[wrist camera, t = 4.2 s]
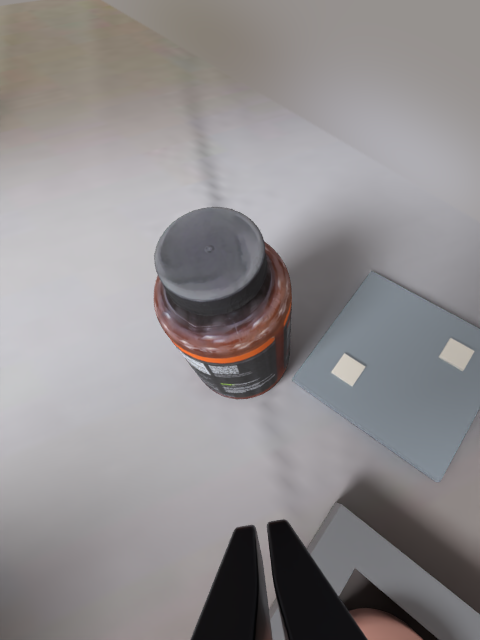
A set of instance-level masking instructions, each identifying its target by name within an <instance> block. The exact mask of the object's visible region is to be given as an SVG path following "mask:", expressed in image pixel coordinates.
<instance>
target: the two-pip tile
mask: <svg viewBox="0 0 480 640" xmlns="http://www.w3.org/2000/svg"><path fill="white" fill-rule="evenodd" d="M292 381H293V382H295V383H296V384H297V385H299V386H300V387H302V388H303V389H304V390H306V391H307V392H309V393H310V394H312V395H313V396H314V397H316V398H317V399H319V400H320V401H322V402H323V403H324V404H326V405H327V406H329V407H330V408H331V409H333V410H334V411H336V412H337V413H339V414H340V415H341V416H343V417H344V418H346V419H347V420H348V421H350V422H351V423H353V424H354V425H356V426H357V427H358V428H360V429H361V430H363V431H364V432H366V433H367V434H368V435H370V436H371V437H373V438H374V439H375V440H377V441H378V442H380V443H381V444H383V445H384V446H385V447H387V448H388V449H390V450H391V451H392V452H394V453H395V454H397V455H398V456H400V457H401V458H402V459H404V460H405V461H407V462H408V463H410V464H411V465H412V466H414V467H415V468H417V469H418V470H419V471H421V472H422V473H424V474H425V475H427V476H428V477H429V478H431V479H432V480H434V481H435V482H440V481H441V479H442V477H443V475H444V474H445V472H446V470H447V468H448V466H449V464H450V462H451V461H452V459H453V457H454V455H455V453H456V451H457V449H458V448H459V446H460V444H461V442H462V440H463V438H464V437H465V435H466V433H467V431H468V429H469V427H470V425H471V424H472V422H473V420H474V418H475V416H476V414H477V412H478V411H479V409H480V329H479V328H477V327H476V326H474V325H472V324H470V323H468V322H466V321H464V320H463V319H461V318H459V317H457V316H455V315H453V314H451V313H449V312H448V311H446V310H444V309H442V308H440V307H438V306H436V305H435V304H433V303H431V302H429V301H427V300H425V299H423V298H422V297H420V296H418V295H416V294H414V293H412V292H410V291H409V290H407V289H405V288H403V287H401V286H399V285H397V284H396V283H394V282H392V281H390V280H388V279H386V278H384V277H383V276H381V275H379V274H377V273H375V272H373V271H371V272H370V273H369V275H368V276H367V278H366V279H365V280H364V282H363V283H362V284H361V286H360V287H359V288H358V290H357V291H356V292H355V294H354V295H353V297H352V298H351V299H350V301H349V302H348V303H347V305H346V306H345V307H344V309H343V310H342V312H341V313H340V314H339V316H338V317H337V318H336V320H335V321H334V322H333V324H332V325H331V327H330V328H329V329H328V331H327V332H326V333H325V335H324V336H323V337H322V339H321V340H320V341H319V343H318V344H317V346H316V347H315V348H314V350H313V351H312V352H311V354H310V355H309V356H308V358H307V359H306V361H305V362H304V363H303V365H302V366H301V367H300V369H299V370H298V371H297V373H296V374H295V375H294V377H293V378H292Z"/></svg>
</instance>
